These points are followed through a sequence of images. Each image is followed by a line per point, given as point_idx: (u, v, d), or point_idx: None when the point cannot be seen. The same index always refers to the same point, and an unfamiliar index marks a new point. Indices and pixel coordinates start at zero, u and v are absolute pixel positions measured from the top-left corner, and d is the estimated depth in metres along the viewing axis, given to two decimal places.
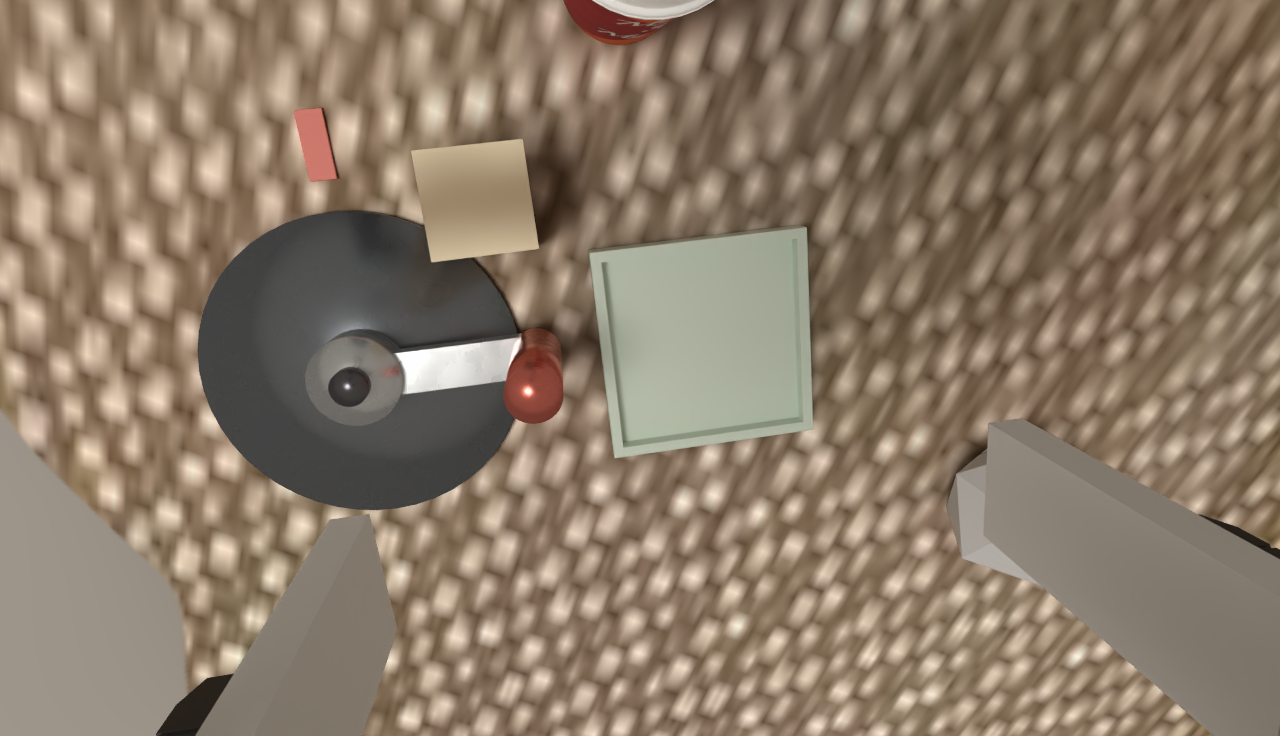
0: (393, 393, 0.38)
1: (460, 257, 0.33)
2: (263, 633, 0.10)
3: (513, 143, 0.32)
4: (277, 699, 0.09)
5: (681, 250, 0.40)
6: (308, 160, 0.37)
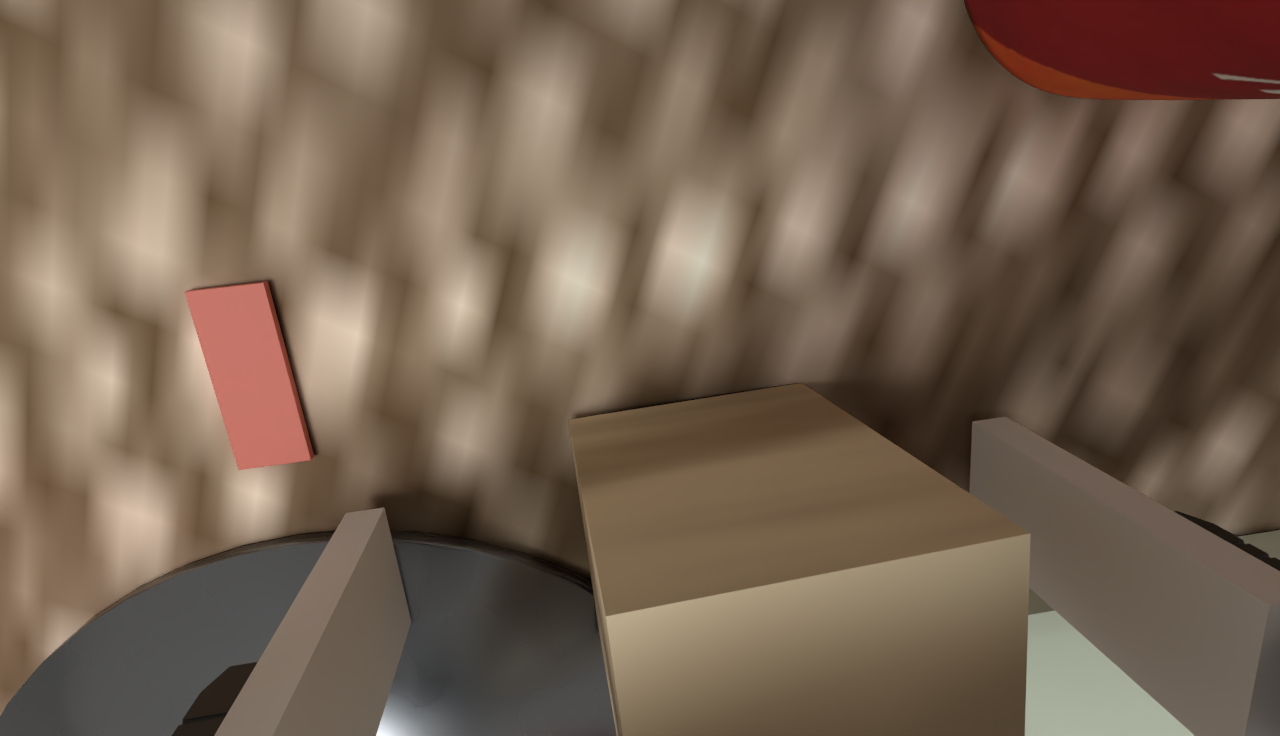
0: None
1: None
2: (284, 622, 0.11)
3: (995, 551, 0.08)
4: (301, 685, 0.09)
5: None
6: (232, 419, 0.14)
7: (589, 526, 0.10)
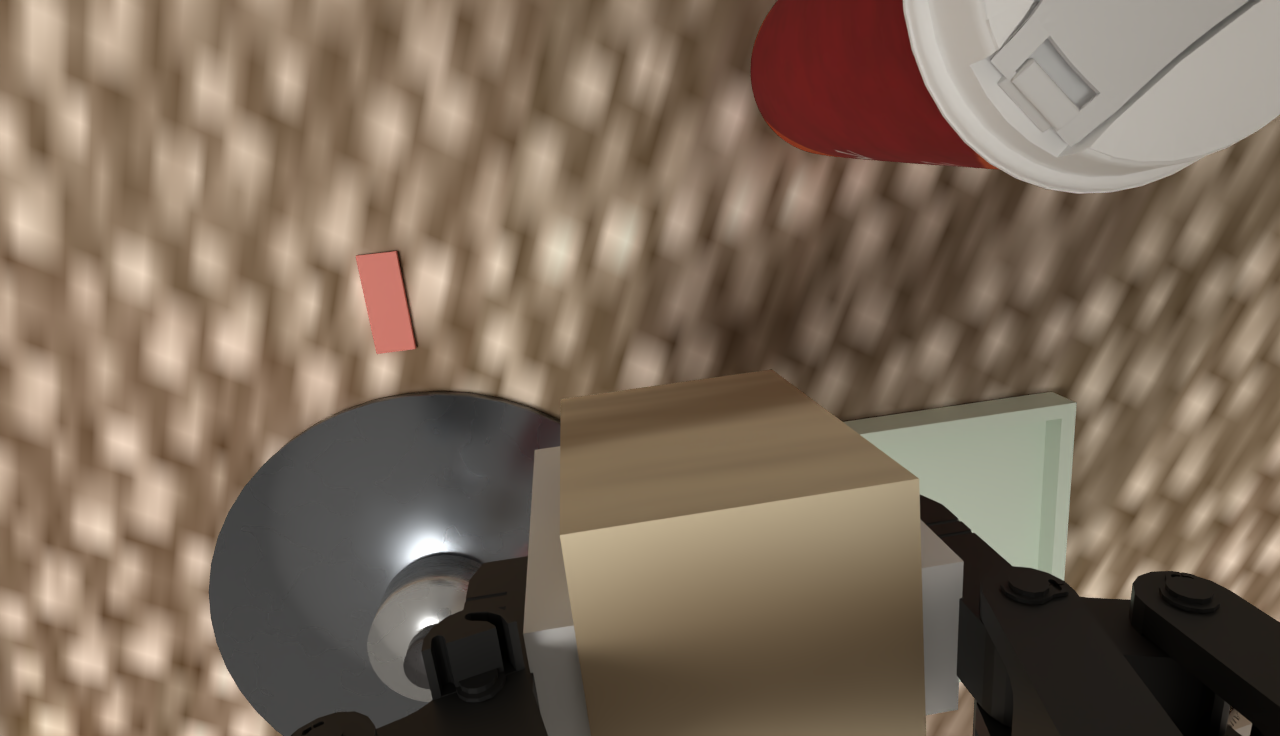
0: None
1: None
2: (530, 525, 0.13)
3: (888, 493, 0.10)
4: None
5: (902, 439, 0.28)
6: (375, 325, 0.25)
7: (561, 476, 0.11)
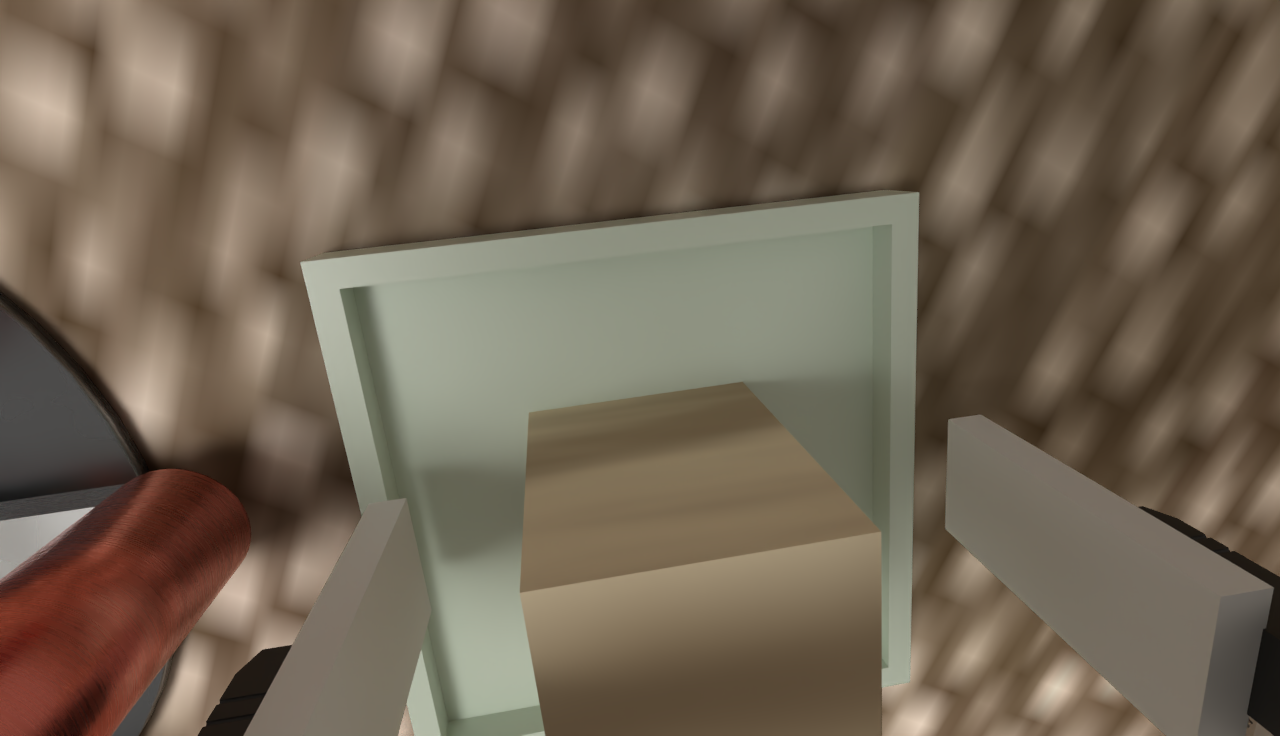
0: None
1: None
2: (316, 607, 0.11)
3: (850, 547, 0.10)
4: (337, 666, 0.10)
5: (573, 255, 0.14)
6: None
7: (524, 514, 0.11)
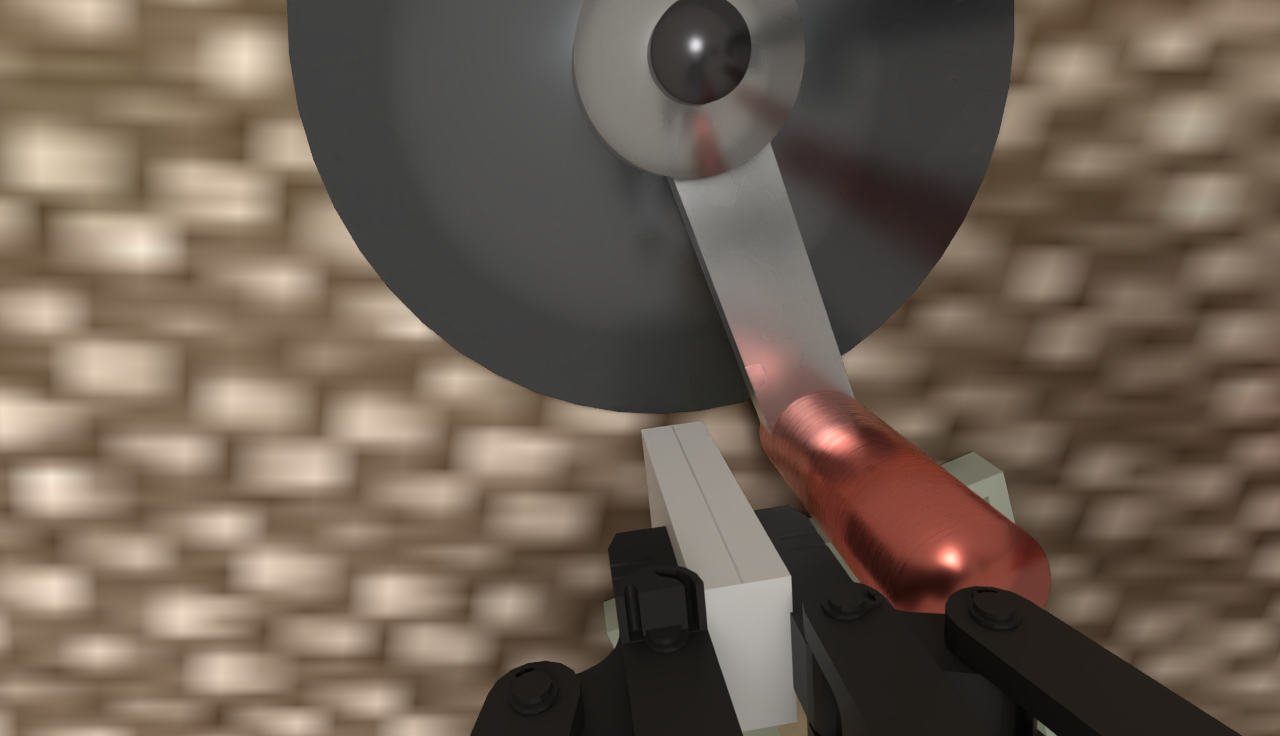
0: (686, 163, 0.15)
1: None
2: (662, 497, 0.13)
3: None
4: None
5: None
6: None
7: None
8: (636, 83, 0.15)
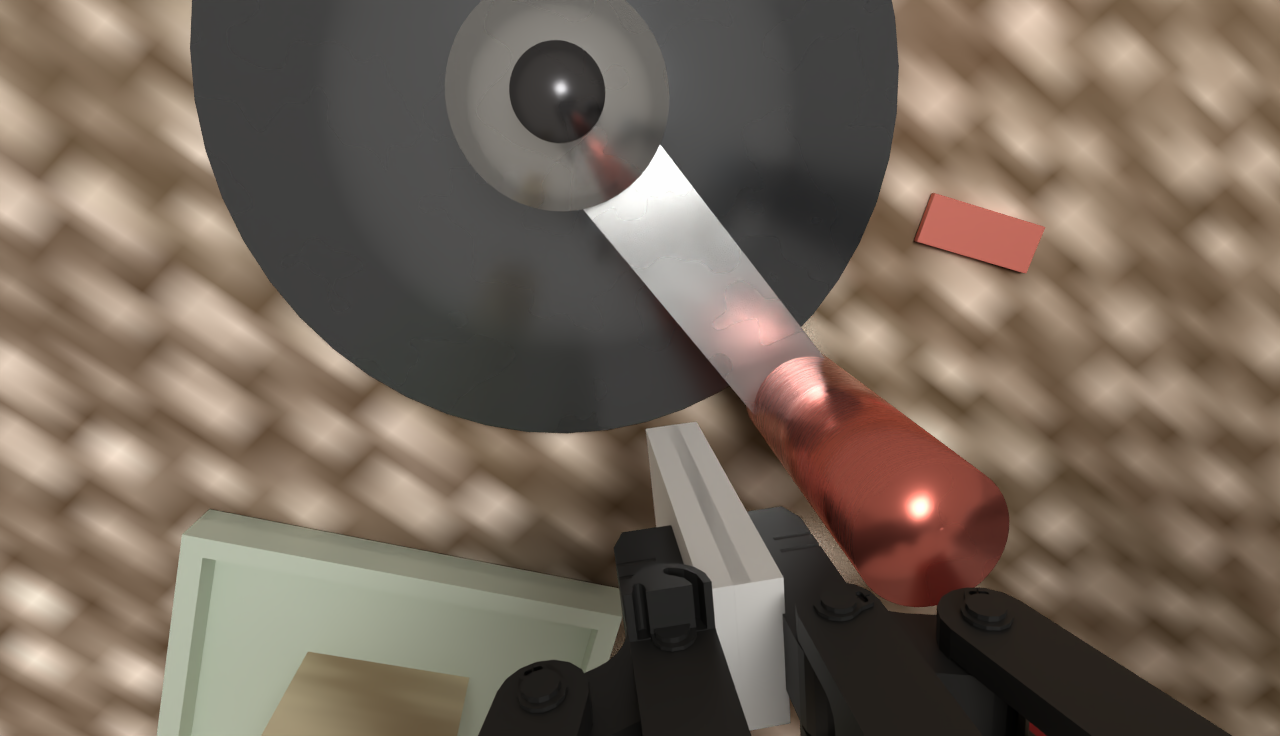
0: (586, 194, 0.16)
1: None
2: (668, 496, 0.13)
3: None
4: None
5: None
6: (966, 209, 0.20)
7: None
8: (516, 137, 0.16)
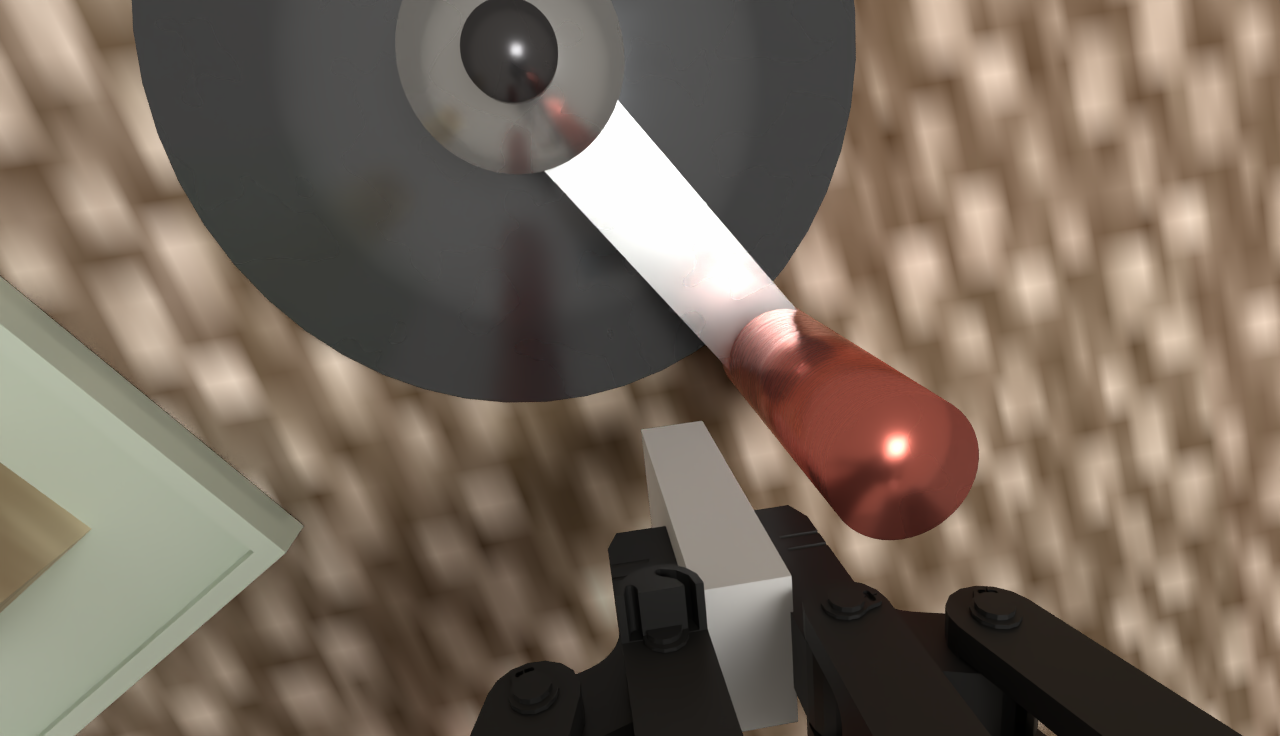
0: (547, 155, 0.16)
1: None
2: (663, 497, 0.13)
3: None
4: None
5: (145, 653, 0.20)
6: None
7: None
8: (472, 100, 0.16)
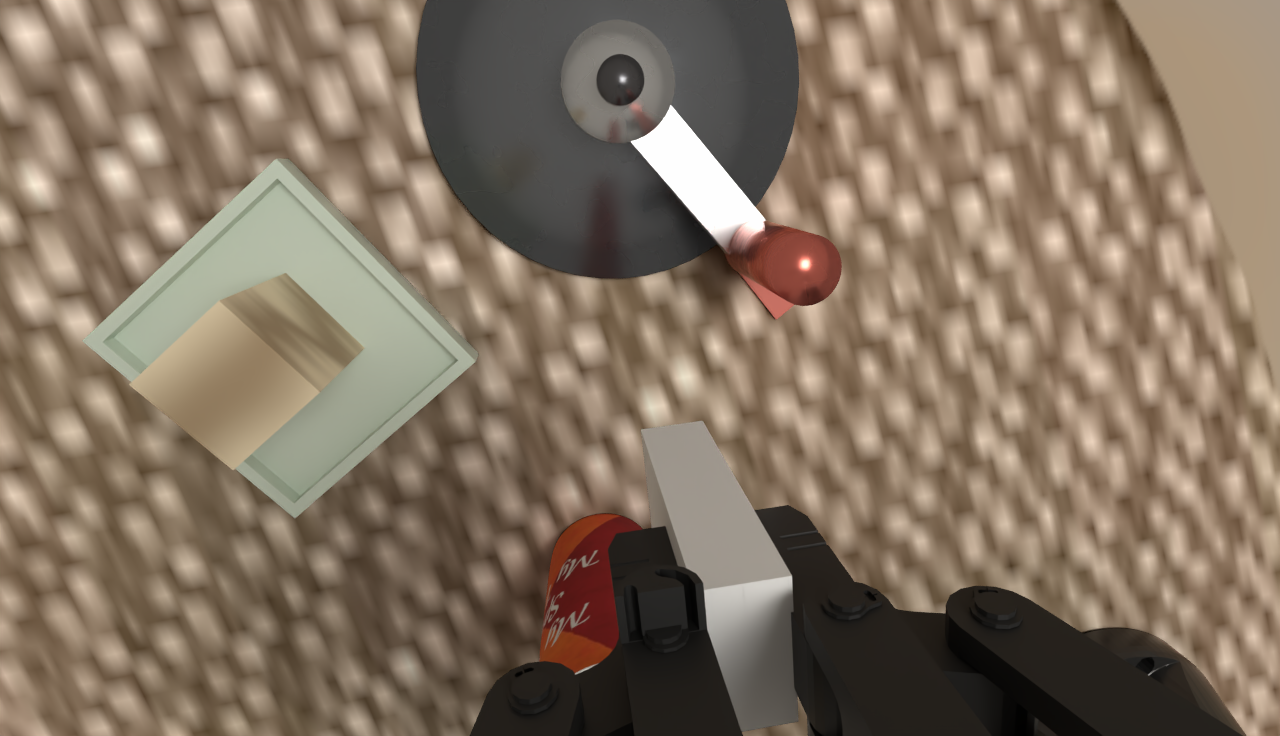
0: (634, 132, 0.31)
1: (196, 324, 0.27)
2: (662, 497, 0.13)
3: (237, 460, 0.28)
4: None
5: (392, 421, 0.35)
6: None
7: (335, 376, 0.30)
8: (597, 104, 0.31)
